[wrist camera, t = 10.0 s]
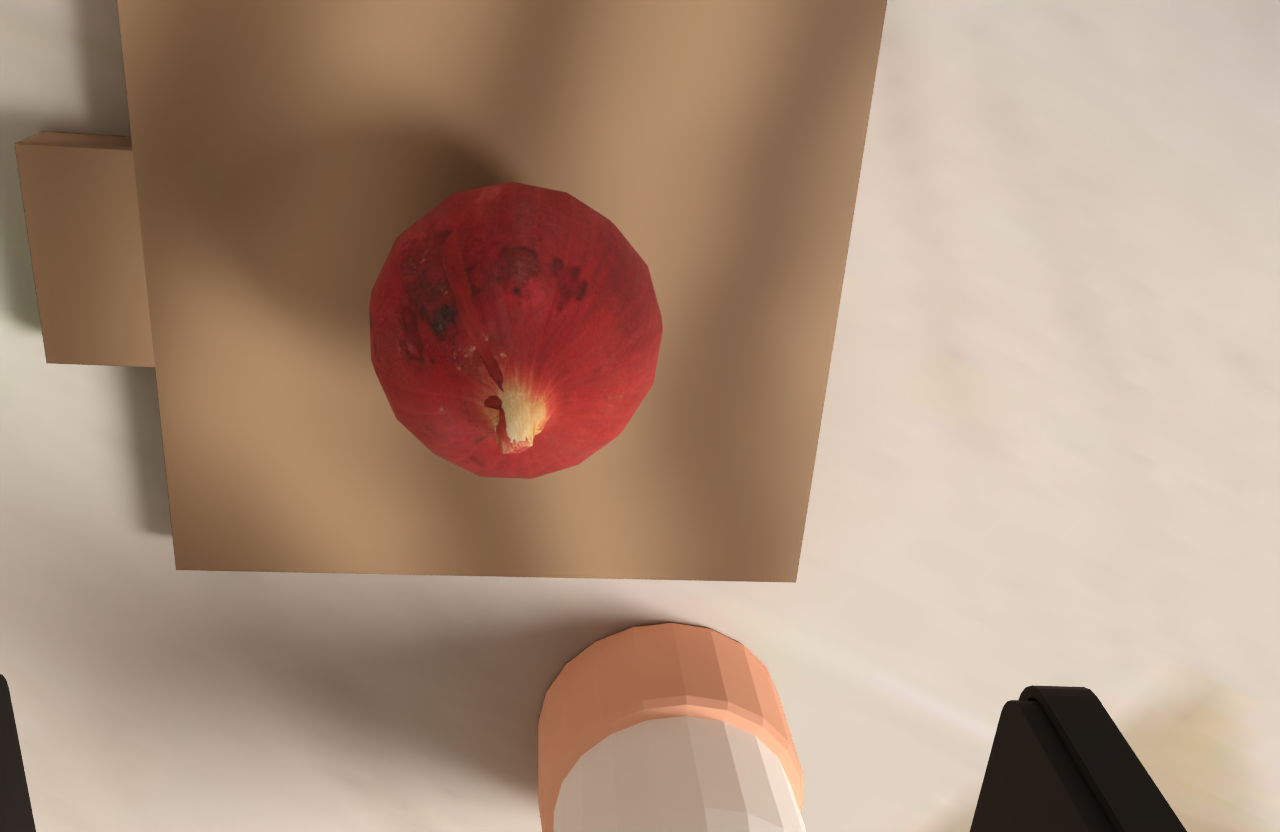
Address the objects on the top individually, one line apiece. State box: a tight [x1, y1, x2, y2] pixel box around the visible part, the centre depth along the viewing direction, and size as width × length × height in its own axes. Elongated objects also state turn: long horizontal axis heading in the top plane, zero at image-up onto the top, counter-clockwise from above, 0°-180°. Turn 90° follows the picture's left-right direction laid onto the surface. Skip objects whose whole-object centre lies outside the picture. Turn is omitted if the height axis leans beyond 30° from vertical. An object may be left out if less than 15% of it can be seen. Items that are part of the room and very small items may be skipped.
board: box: [15, 0, 887, 582], centre depth 26 cm, size 18×16×2 cm
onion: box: [369, 181, 663, 479], centre depth 22 cm, size 6×6×8 cm
